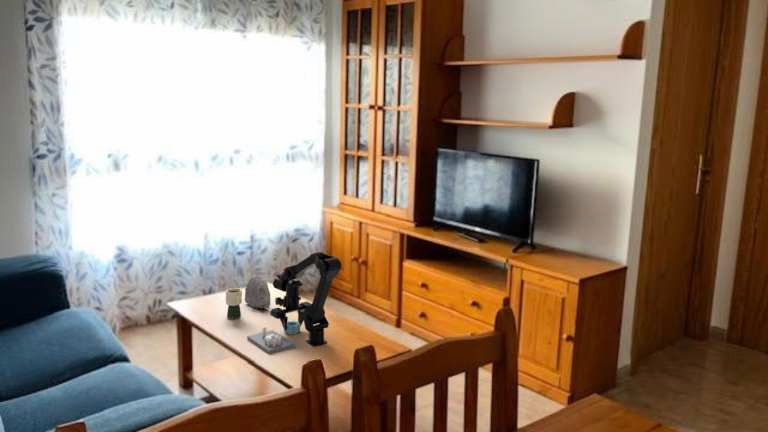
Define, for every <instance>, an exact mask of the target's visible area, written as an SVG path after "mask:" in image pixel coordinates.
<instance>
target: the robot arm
mask: <svg viewBox="0 0 768 432" xmlns="http://www.w3.org/2000/svg"><path fill="white" fill-rule="evenodd" d="M314 266H315V268H316V269H317V270H318V272H319V276H320V279H319V282H318V283H317V287H316V290H315V293H314V296H313V300H312V303H311V302H309V301H303V302H300V301H301V300H302V297H301V296H300V287H302V286H303V285H304V284H303V283H302V282H301V280H300V279H301V278H302V277H303V276H304V275H305V274H306V273H305V272H307V270H309V269H311V268H313V267H314ZM341 269H342V262H341V260H340V259H339V258H338V257H335V256H333V255H329V254H325V253H324V252H322V251H316V252H313V253H310V255H308V256H307V257H306V258H304V259H302V260H301V261H300V262H298V263H296V264H294V265H290V266H286V267H285V268H284V269H283V272H282V273H278V274H276V277H275V278H274V279H273V282H272V286H273V288H274V289H276V290H279V291H281V292H284V293H285V295H284V297H283V298H282V297H280V296H278V297H275V299H274V303H275V305H276V306H279V307H275V308H271V310H270V313H269V314H270V316H272V318H275V319H277V320H280V323H281V326H282V328H283V331H284V330H285V331H286V329H287V321H288V316H287V314H291V313H294V312H297V322H300V328H301V327H302V324H303V323H304V327H305V330H306V331H307V332H308V339H307V340H305V341H306V343H308V344H309V345H311V346H313V347H319V346H321V345H325V344H328V341H326V340H325V329H328V328H329V325H330V323H329V321H328V320H327V317H326V311H325V307H324V306H325V304H326V301H327V297H328V294H329V291H330V288H331V285H332V283H333V280H334V279H335V278H336V277H337V276H338V275H339V273H340V271H341ZM281 307H282V308H284V309H282V308H281ZM285 331H284V332H285Z"/></svg>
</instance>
